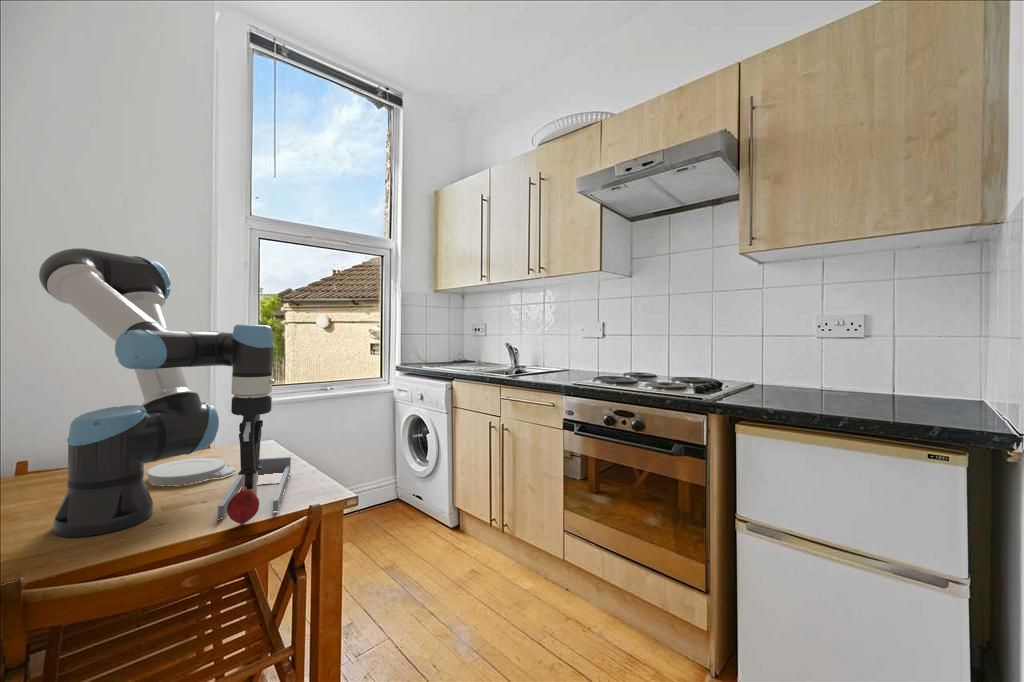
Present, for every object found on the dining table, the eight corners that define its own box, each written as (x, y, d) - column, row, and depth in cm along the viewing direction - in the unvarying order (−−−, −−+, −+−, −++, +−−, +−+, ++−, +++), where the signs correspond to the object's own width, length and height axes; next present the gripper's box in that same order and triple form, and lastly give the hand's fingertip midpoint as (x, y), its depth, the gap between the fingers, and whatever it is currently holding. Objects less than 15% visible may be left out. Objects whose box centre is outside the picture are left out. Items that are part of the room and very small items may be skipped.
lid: (223, 485, 114) (223, 474, 113) (131, 490, 108) (132, 478, 108) (243, 466, 130) (244, 456, 130) (165, 469, 124) (166, 459, 124)
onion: (262, 524, 91) (262, 488, 90) (230, 533, 87) (230, 495, 86) (255, 514, 95) (255, 479, 95) (224, 522, 91) (224, 485, 91)
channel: (217, 520, 92) (218, 496, 92) (244, 477, 119) (245, 459, 119) (277, 513, 97) (278, 491, 97) (290, 473, 124) (290, 456, 124)
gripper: (267, 399, 89) (264, 511, 90) (275, 390, 101) (272, 489, 102) (225, 400, 87) (222, 516, 87) (238, 391, 98) (235, 493, 99)
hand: (249, 501), depth 94 cm, fingers closed
